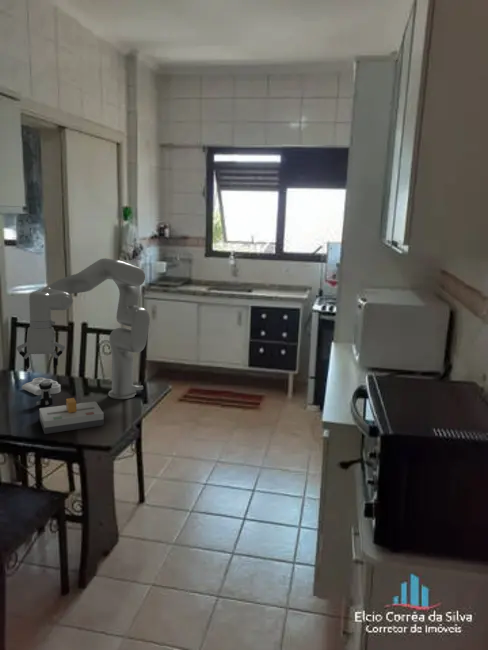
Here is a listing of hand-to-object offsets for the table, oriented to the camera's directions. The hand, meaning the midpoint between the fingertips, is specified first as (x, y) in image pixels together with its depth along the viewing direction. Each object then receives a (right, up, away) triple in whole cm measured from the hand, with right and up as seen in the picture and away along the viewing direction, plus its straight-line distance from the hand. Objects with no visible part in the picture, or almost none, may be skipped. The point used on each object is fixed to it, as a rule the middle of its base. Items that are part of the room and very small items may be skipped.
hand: (41, 367), depth 195 cm
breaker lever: (+10, -20, +5) cm, 22 cm away
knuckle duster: (-16, -14, +41) cm, 46 cm away
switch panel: (+9, -22, +6) cm, 25 cm away
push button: (-8, -18, +23) cm, 30 cm away
